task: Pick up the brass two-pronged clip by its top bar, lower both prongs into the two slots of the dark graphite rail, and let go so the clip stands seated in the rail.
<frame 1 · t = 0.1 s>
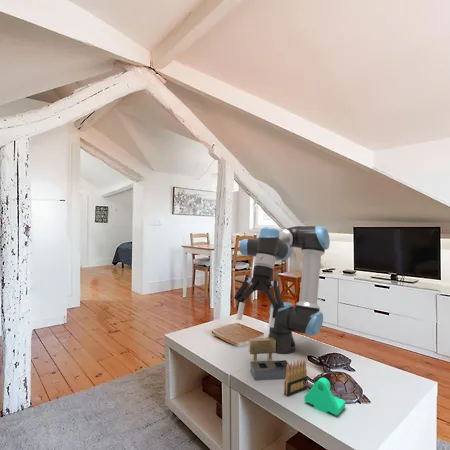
hand: (254, 323, 112), 28 cm above the table, tool tilted 20°, fingers open, 13 cm apart
camera mount: (325, 406, 108), on the table
ammunition clip: (296, 392, 117), on the table
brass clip: (262, 363, 141), on the table
graphite rail: (270, 374, 130), on the table
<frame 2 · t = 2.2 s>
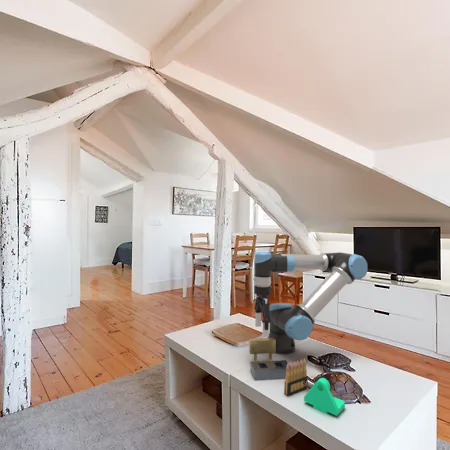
hand: (261, 331, 141), 15 cm above the table, tool pointing down, fingers open, 13 cm apart
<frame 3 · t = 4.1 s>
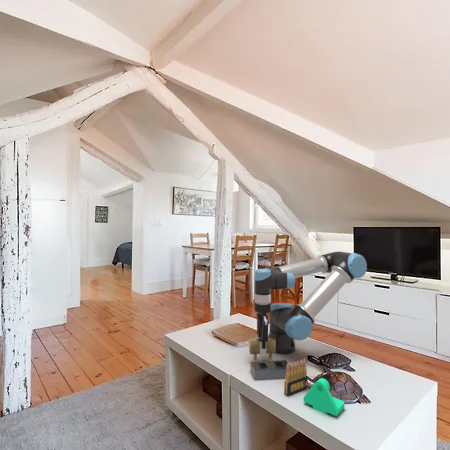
hand: (262, 353, 141), 5 cm above the table, tool pointing down, fingers closed on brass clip, 3 cm apart
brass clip: (262, 363, 141), on the table, touching gripper
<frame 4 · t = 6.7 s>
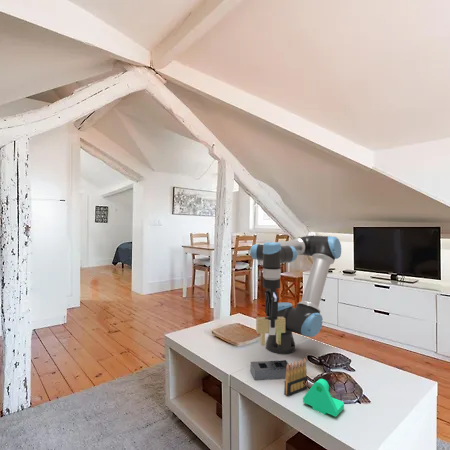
hand: (270, 333, 130), 18 cm above the table, tool pointing down, fingers closed on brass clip, 3 cm apart
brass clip: (270, 343, 130), point 13 cm above the table, touching gripper
when the fingers open (6 cm above the table, at t = 9.1 s): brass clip drops 1 cm, resting in graphite rail.
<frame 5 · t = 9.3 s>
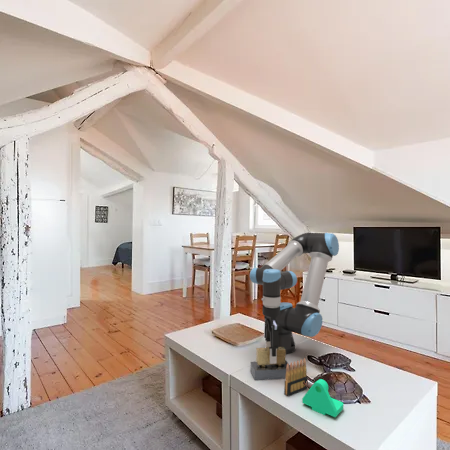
hand: (270, 359, 130), 6 cm above the table, tool pointing down, fingers open, 6 cm apart
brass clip: (270, 374, 130), resting in graphite rail
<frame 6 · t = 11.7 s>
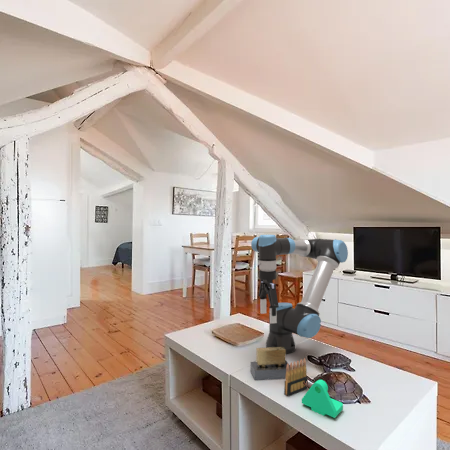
hand: (268, 318, 134), 23 cm above the table, tool pointing down, fingers open, 13 cm apart
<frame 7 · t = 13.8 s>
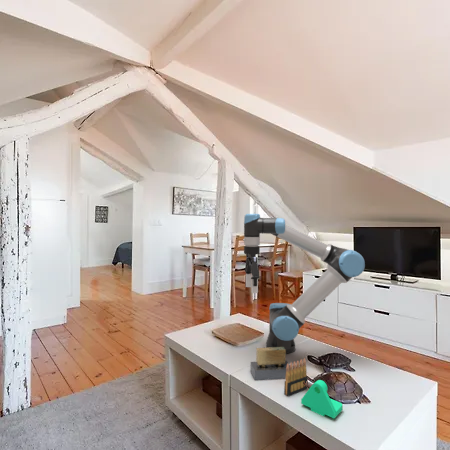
hand: (251, 289, 147), 33 cm above the table, tool pointing down, fingers open, 13 cm apart
at the end: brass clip 0.1 cm off-centre on the graphite rail, point 0.0 cm above the graphite rail's base; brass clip tilted 0°; the gripper is holding nothing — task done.
